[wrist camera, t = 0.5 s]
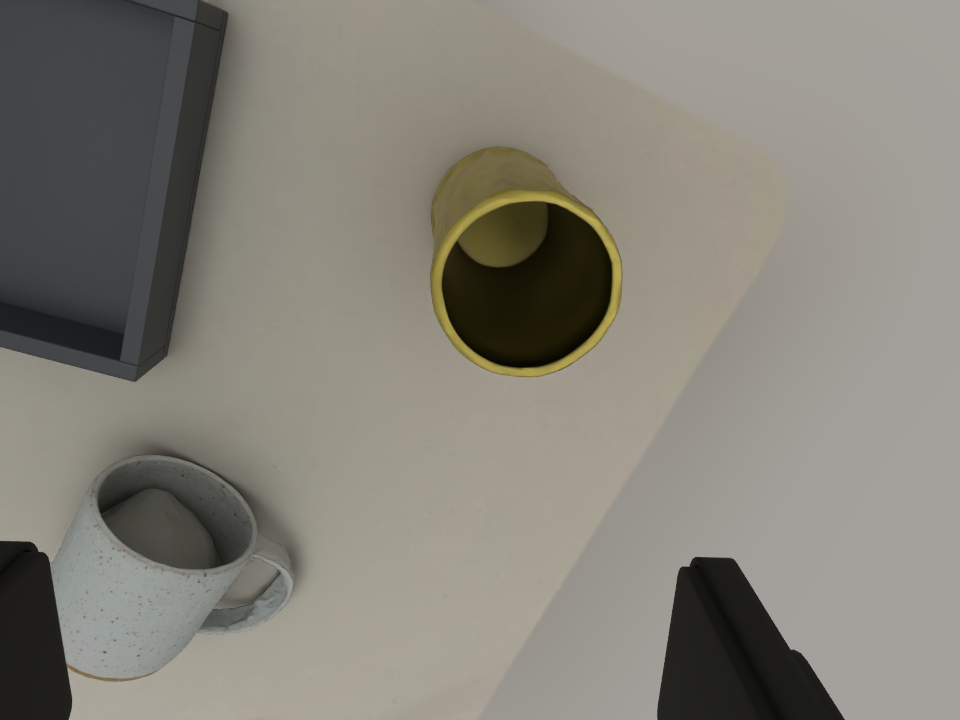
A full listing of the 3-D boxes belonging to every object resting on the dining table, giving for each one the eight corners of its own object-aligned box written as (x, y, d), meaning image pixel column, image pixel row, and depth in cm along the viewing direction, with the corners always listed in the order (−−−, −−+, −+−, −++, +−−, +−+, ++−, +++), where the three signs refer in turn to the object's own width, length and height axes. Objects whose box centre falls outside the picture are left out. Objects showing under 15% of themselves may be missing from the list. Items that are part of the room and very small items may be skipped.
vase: (592, 196, 33) (686, 253, 19) (517, 307, 35) (555, 432, 21) (479, 119, 32) (494, 123, 18) (406, 238, 33) (370, 322, 20)
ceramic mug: (72, 554, 38) (-17, 660, 31) (137, 431, 36) (58, 513, 29) (257, 638, 40) (215, 755, 33) (328, 527, 38) (301, 625, 31)
